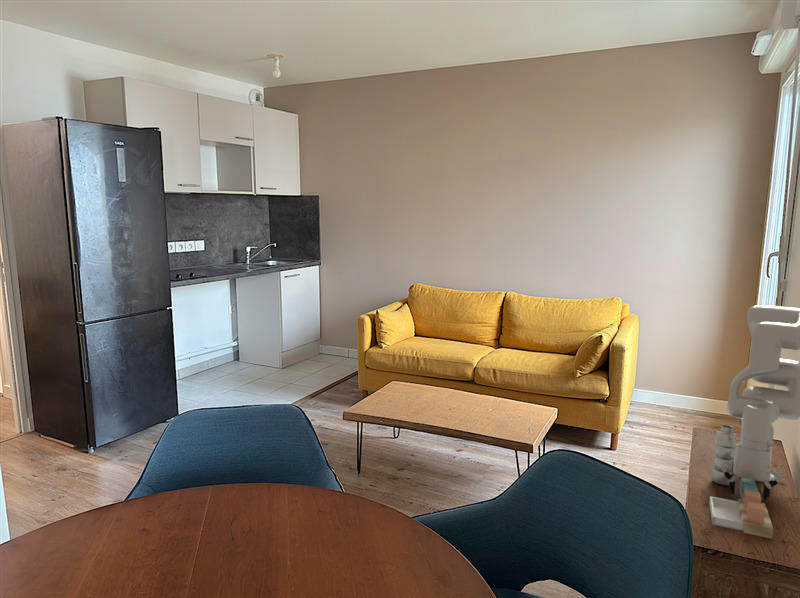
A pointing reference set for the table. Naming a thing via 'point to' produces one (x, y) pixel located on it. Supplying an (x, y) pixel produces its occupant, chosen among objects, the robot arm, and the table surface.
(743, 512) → the beige gold flat block
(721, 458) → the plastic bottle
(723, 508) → the tray
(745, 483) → the bar
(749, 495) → the tan cube
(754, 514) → the peach cube
